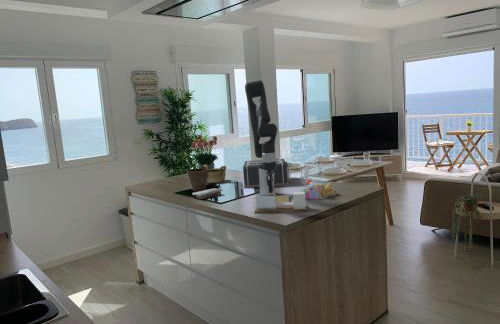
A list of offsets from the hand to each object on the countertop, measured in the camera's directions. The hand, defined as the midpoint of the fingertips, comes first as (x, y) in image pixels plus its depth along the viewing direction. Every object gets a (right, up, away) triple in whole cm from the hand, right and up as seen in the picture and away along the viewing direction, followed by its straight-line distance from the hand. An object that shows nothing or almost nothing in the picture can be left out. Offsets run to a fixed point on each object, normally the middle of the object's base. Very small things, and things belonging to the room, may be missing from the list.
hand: (271, 191), depth 217 cm
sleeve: (-2, -9, +2) cm, 10 cm away
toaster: (+2, 0, +79) cm, 79 cm away
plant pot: (-48, -5, +69) cm, 84 cm away
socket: (+15, -9, -1) cm, 18 cm away
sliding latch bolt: (+2, -6, 0) cm, 6 cm away
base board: (+6, -10, 0) cm, 11 cm away
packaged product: (-36, -5, +42) cm, 56 cm away
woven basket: (-39, -1, +97) cm, 104 cm away
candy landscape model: (+30, -5, +31) cm, 43 cm away
